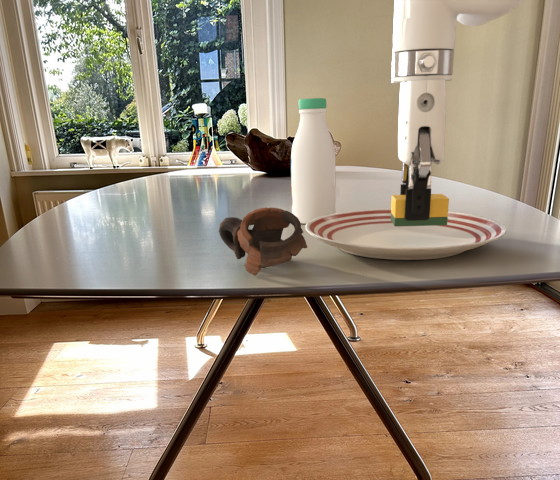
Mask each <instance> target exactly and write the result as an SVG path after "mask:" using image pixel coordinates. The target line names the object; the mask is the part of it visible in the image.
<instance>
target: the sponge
mask: <svg viewBox="0 0 560 480" xmlns="http://www.w3.org/2000/svg"><path fill="white" fill-rule="evenodd" d="M405 199H406V195H400V194H391V201H390V208H391V222H392V223H393V225H394V226H395V227H396V226H436V225H447V220H448V211H449V206H450V204H449V203H450V198H449V197H447V196H446V195H444V194H443V193H431V201H430V216H429V219H428V220H409V221H408V220H406V219H405Z"/></svg>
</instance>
